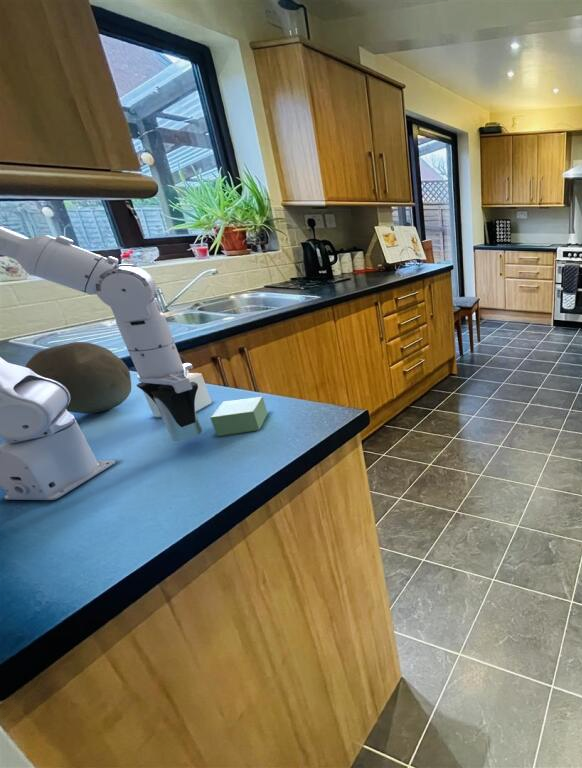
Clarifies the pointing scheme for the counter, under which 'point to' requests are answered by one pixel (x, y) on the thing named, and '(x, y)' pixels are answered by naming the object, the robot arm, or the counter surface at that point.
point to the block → (239, 416)
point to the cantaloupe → (85, 375)
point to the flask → (172, 426)
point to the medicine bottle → (200, 398)
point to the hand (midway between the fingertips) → (181, 420)
